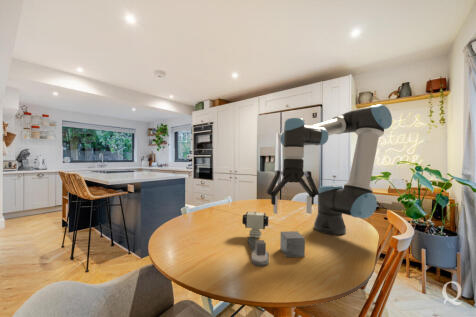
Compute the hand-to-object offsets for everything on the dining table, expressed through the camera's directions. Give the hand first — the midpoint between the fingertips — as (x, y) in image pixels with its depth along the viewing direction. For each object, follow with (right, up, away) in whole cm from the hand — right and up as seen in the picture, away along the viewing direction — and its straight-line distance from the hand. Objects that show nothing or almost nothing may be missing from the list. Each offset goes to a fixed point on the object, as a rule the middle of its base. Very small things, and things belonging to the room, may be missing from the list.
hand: (292, 213), depth 78 cm
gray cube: (0, -15, 0) cm, 15 cm away
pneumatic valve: (-13, -16, +16) cm, 26 cm away
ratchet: (-14, -15, -1) cm, 21 cm away
